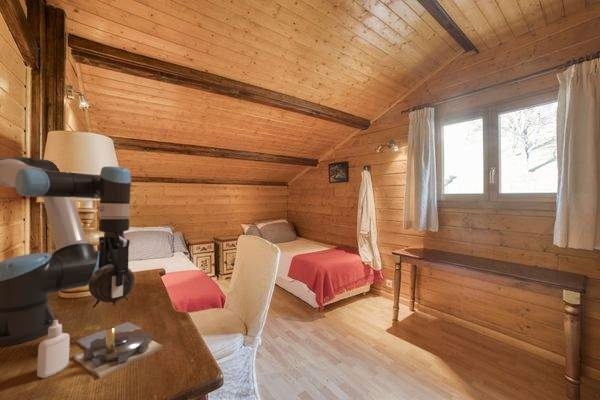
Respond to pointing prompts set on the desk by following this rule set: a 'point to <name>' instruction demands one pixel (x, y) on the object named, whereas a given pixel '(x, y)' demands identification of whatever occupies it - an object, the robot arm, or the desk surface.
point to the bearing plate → (114, 365)
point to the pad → (87, 340)
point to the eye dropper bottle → (53, 351)
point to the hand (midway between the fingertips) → (112, 294)
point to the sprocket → (117, 346)
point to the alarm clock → (109, 284)
